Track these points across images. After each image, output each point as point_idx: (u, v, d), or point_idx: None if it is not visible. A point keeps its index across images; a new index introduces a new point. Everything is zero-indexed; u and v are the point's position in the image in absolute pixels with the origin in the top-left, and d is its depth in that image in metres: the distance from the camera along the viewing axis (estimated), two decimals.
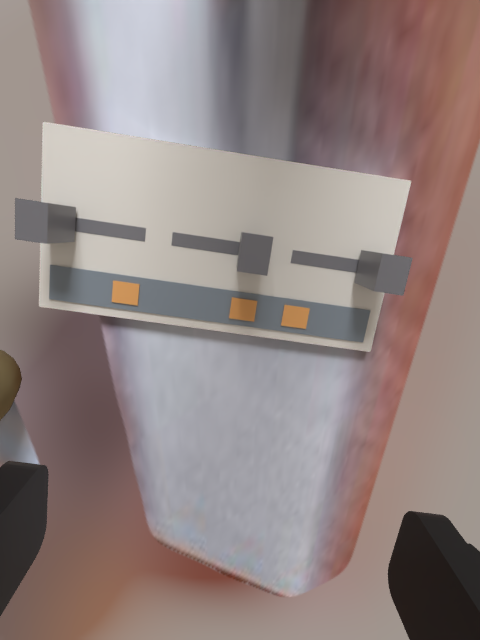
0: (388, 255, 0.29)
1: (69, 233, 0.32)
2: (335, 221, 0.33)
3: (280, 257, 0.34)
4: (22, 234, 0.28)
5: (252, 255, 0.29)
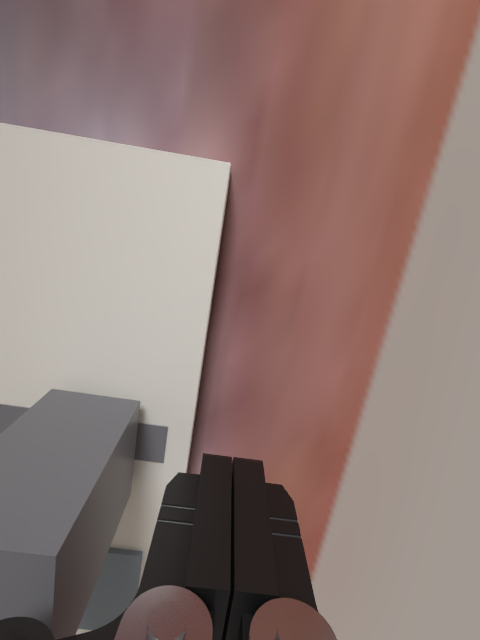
0: None
1: None
2: None
3: None
4: None
5: None
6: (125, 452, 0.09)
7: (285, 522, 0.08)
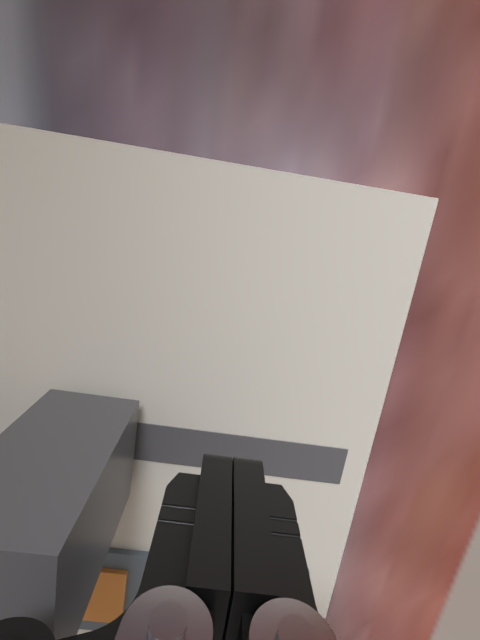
0: None
1: None
2: (187, 327, 0.10)
3: None
4: None
5: None
6: (125, 452, 0.09)
7: (285, 522, 0.08)
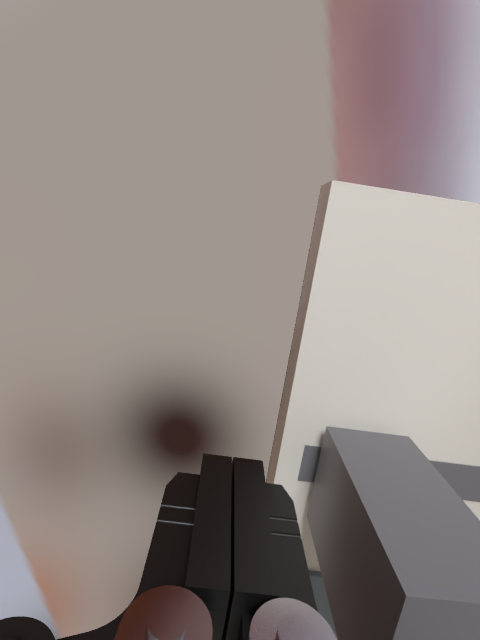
0: None
1: None
2: None
3: None
4: None
5: None
6: None
7: (285, 522, 0.08)
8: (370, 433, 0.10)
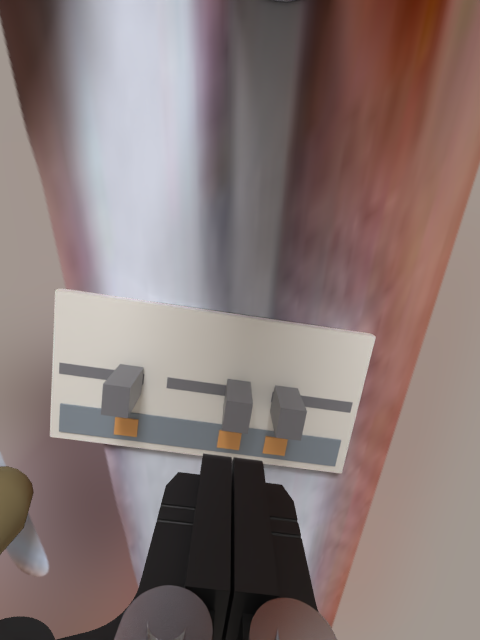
0: (286, 409, 0.33)
1: (138, 392, 0.37)
2: (309, 368, 0.38)
3: (261, 397, 0.39)
4: (107, 411, 0.33)
5: (234, 418, 0.34)
6: None
7: (285, 522, 0.08)
8: (132, 366, 0.37)
